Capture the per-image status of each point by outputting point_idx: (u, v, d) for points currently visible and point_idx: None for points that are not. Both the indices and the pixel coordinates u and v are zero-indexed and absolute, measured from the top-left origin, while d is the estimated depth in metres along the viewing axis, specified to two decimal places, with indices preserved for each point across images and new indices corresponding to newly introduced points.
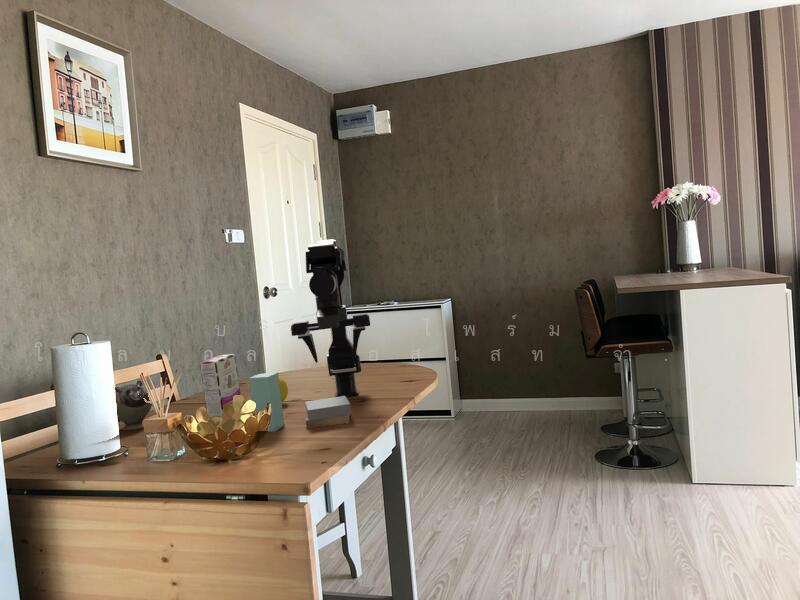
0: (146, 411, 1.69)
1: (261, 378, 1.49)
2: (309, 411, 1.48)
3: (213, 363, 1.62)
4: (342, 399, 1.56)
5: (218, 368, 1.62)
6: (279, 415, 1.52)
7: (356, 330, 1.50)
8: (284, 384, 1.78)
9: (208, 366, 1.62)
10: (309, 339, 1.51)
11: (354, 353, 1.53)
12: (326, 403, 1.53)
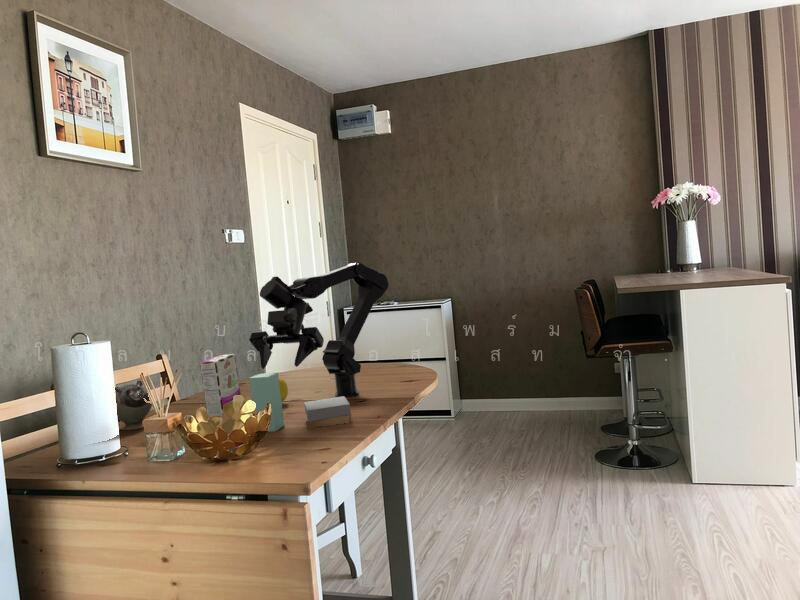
0: (146, 411, 1.69)
1: (261, 378, 1.49)
2: (308, 411, 1.48)
3: (213, 363, 1.62)
4: (341, 399, 1.56)
5: (218, 368, 1.62)
6: (279, 415, 1.52)
7: (301, 336, 1.59)
8: (284, 384, 1.78)
9: (208, 366, 1.62)
10: (262, 344, 1.63)
11: (295, 360, 1.58)
12: (325, 403, 1.53)
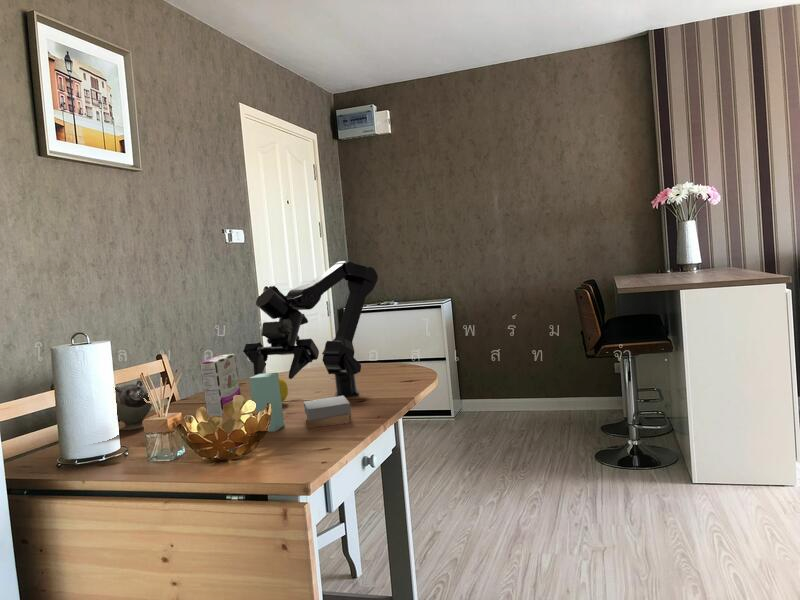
0: (146, 411, 1.69)
1: (261, 378, 1.49)
2: (309, 410, 1.48)
3: (213, 363, 1.62)
4: (341, 399, 1.56)
5: (218, 368, 1.62)
6: (279, 415, 1.52)
7: (296, 348, 1.56)
8: (284, 384, 1.78)
9: (208, 366, 1.62)
10: (256, 355, 1.60)
11: (290, 372, 1.55)
12: (325, 403, 1.53)
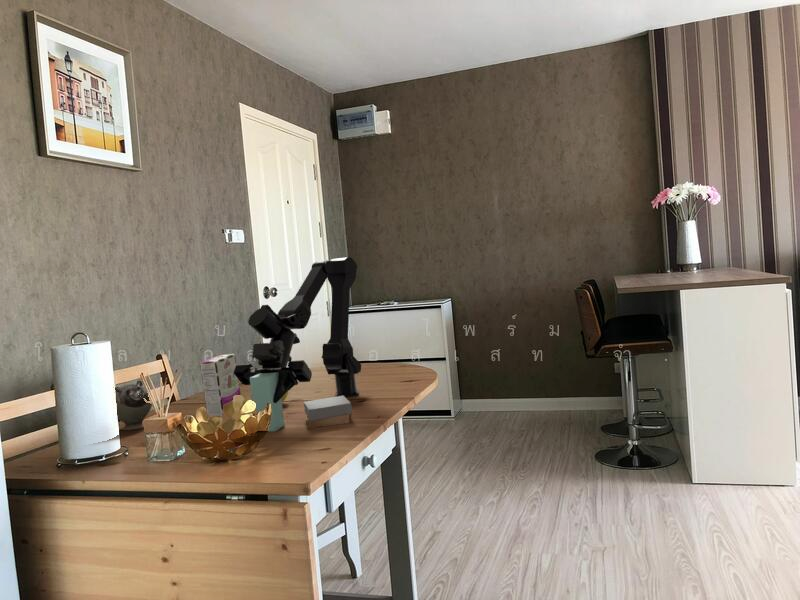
0: (146, 411, 1.69)
1: (261, 378, 1.49)
2: (310, 411, 1.48)
3: (213, 363, 1.62)
4: (341, 399, 1.56)
5: (218, 368, 1.62)
6: (280, 415, 1.52)
7: (281, 371, 1.51)
8: None
9: (208, 366, 1.62)
10: None
11: (274, 396, 1.50)
12: (326, 403, 1.53)
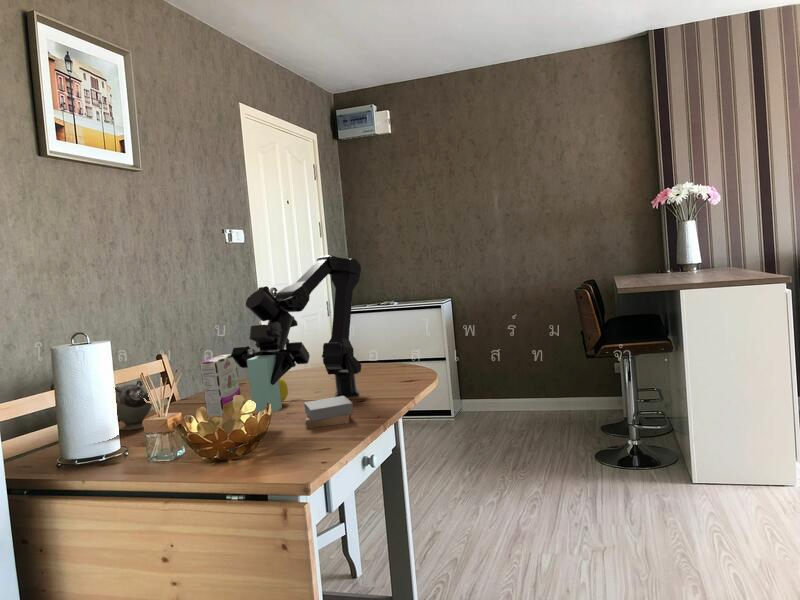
0: (146, 411, 1.69)
1: (259, 360, 1.48)
2: (312, 411, 1.48)
3: (213, 363, 1.62)
4: (342, 399, 1.56)
5: (218, 368, 1.62)
6: (277, 397, 1.52)
7: (278, 353, 1.51)
8: (284, 384, 1.78)
9: (208, 366, 1.62)
10: None
11: (272, 378, 1.50)
12: (327, 403, 1.53)
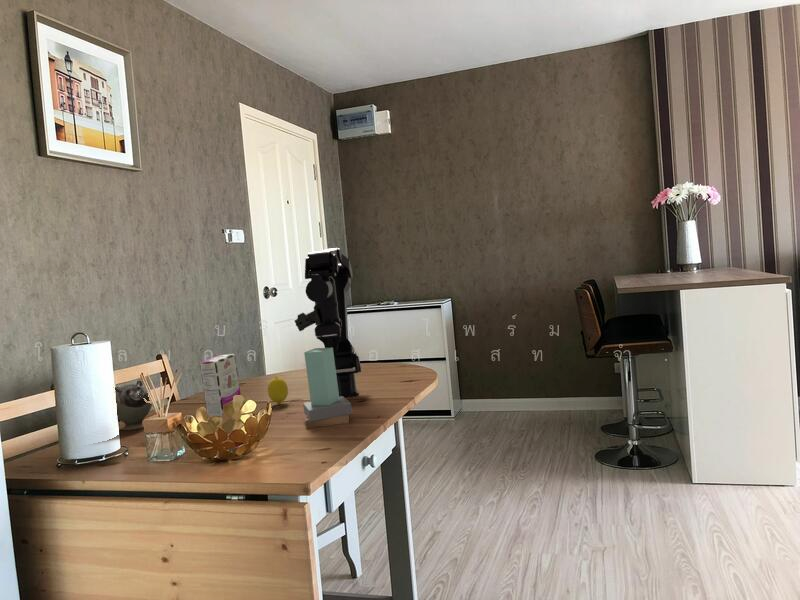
0: (146, 411, 1.69)
1: (315, 353, 1.51)
2: (310, 411, 1.48)
3: (213, 363, 1.62)
4: (341, 399, 1.56)
5: (218, 368, 1.62)
6: (334, 389, 1.54)
7: (317, 337, 1.59)
8: (284, 384, 1.78)
9: (208, 366, 1.62)
10: None
11: None
12: None
